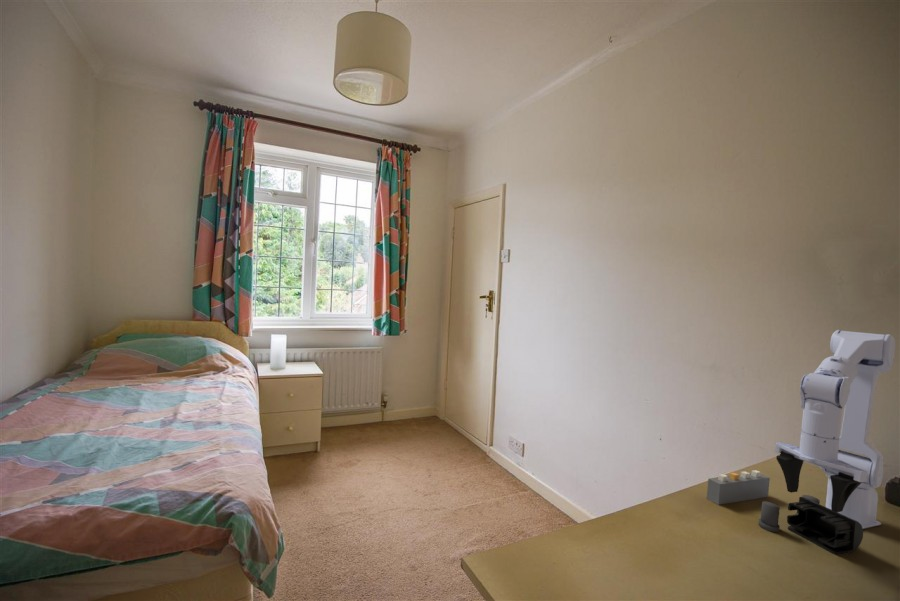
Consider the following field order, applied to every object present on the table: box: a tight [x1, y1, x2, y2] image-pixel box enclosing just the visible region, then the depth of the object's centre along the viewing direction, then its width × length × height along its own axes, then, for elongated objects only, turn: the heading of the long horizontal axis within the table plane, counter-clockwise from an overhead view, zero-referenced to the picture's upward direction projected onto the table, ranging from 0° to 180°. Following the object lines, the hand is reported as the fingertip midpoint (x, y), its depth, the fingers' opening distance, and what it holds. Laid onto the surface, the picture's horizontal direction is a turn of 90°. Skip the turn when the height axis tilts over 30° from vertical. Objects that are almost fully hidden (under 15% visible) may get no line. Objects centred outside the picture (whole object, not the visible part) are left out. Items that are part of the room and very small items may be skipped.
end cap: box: [786, 496, 864, 556], centre depth 85 cm, size 10×7×7 cm
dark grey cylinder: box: [801, 494, 821, 504], centre depth 93 cm, size 4×4×5 cm
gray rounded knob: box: [757, 500, 781, 533], centre depth 89 cm, size 4×4×5 cm
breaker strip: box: [706, 469, 771, 505], centre depth 102 cm, size 18×3×6 cm, turn 110°
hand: (813, 500), depth 82 cm, fingers open, 7 cm apart
